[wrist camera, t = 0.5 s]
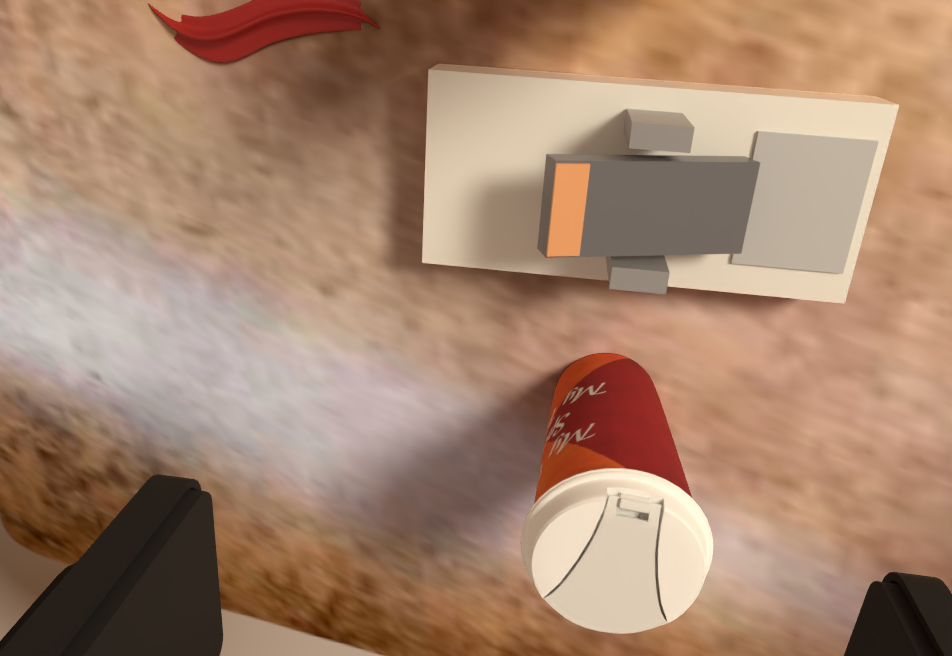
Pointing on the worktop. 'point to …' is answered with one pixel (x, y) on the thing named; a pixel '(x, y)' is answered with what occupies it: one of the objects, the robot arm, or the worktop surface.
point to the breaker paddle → (645, 205)
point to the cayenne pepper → (262, 25)
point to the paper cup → (613, 505)
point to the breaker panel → (652, 133)
